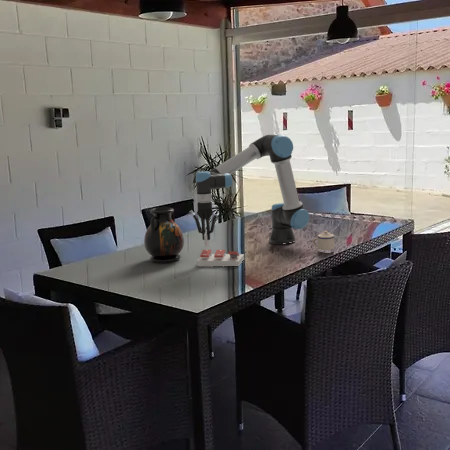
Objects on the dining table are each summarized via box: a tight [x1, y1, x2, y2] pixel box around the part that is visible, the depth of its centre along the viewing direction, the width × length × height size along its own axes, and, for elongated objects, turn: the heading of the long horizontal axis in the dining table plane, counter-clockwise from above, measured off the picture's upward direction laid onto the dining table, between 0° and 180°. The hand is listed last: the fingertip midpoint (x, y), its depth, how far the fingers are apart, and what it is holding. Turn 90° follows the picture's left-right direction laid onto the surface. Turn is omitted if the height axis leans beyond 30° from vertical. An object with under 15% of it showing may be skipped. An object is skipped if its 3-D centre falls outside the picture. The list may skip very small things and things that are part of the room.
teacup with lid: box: [312, 230, 335, 250], centre depth 319 cm, size 12×9×12 cm
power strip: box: [196, 253, 245, 268], centre depth 306 cm, size 22×14×3 cm, turn 77°
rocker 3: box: [227, 250, 240, 258], centre depth 302 cm, size 4×6×3 cm
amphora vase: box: [143, 206, 185, 264], centre depth 315 cm, size 22×22×28 cm
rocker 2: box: [214, 249, 226, 258], centre depth 304 cm, size 4×6×3 cm
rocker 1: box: [199, 249, 212, 258], centre depth 306 cm, size 4×6×3 cm
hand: (206, 245), depth 308 cm, fingers closed
